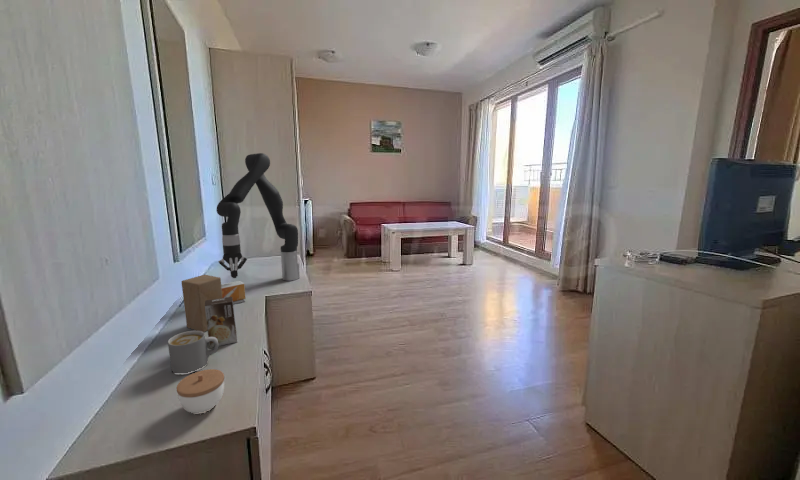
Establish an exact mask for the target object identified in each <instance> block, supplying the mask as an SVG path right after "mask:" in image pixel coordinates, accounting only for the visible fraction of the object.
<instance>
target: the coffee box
mask: <svg viewBox="0 0 800 480" xmlns="http://www.w3.org/2000/svg"><path fill="white" fill-rule="evenodd" d="M205 313H206V321H207V329H208V330H207V335H208V336H207V337H215V338H217V340H218V344H219V346H218V347H220V346H224V345H230V344H235V343H238V333H237V327H236V319H235V318H236V317H235V310H234V304H233V298H232V297H226V298H219V299H212V300H205ZM208 343H209V344H208V345H209V348H210V347H211V348H214V347H213V346H214V343H213V342H212V341H209V342H208Z"/></svg>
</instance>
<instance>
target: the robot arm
mask: <svg viewBox="0 0 800 480" xmlns="http://www.w3.org/2000/svg"><path fill="white" fill-rule="evenodd" d="M244 163H245V166H246V169H247V171H248V172H247V173H246V174H245V175H243V176H242V177H241V178H240V179H238V181H236V183H235V184H234V185H233V187H232V188H231V190H230V192H229V193H227V194H226V195H225V196H224V198H222V199H221V200H220V201H219V202H218V204H217V206H216V213H217V215H218V216H220V217H224V218H227V219H226V221H225V222H223V223H222V224H221V232H222V233H221V234H222V235H221V236H222V239H221V240H222V241H221V242H222V250H223V255H222V259H220V260H218V264H219V265H221V266H222V267H223V268H224V269H225V270H226V271H229V272H230V277H231V278H232V279H237V277H239V274H238V270H240V269H242V267H243V266H244V265H245V263H246V262H247V260H248V258H247V257H244V256H243V255H242V253H241V252H242V251H241V240H240V234H239V233H240V232H239V222H240V218H241V207H240V205H239V204H241V203H243V202H244V201H245V199H246V197H247V196H248V194H249V193H250V191H251V190H252V188H253V187H254V185H255V184H256V186H257V189H258V191H259V193H260V195H261V197H262V200H263V202H264V205H265V206H266V209H267V210H268V213H269V215H270V218H271V220H272V222H273V226H274V229H275V232H276V235H277V236H278V238H280V239H283V240H284V244H283V245H281V246H280V260H281V261H280V262H281V263H280V264H281V277H282V280H283V281H286V282H287V281H295V280H298V279H301V278H300V277H301V276H300V263H299V262H298V260H299V259H298V246H299V231H298V227H297V226H296V225H295V224H292V223H287V221H286V219H285V217H284V215H283V210H284V202H283V198H282V196H281V194H280V192H279V190H278V189H277V187H276V186H275V185H273V184H272V182H271V181H269V179H267V177H266V176H265V173H266V172H267V171H268V169H270V166H271V160H270V157H269V156H268V155H267V154H265V153H263V152H259V153H251V154H248V155H246V157H245V160H244ZM225 262H226V263H227V264H228V265H229V267H228V266H227V265H226V263H225Z"/></svg>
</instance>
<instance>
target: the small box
mask: <svg viewBox="0 0 800 480" xmlns="http://www.w3.org/2000/svg"><path fill="white" fill-rule="evenodd" d="M221 288H222V298H226V297H232V298H233V302H234V301H238V300H242V299H244V300H246V286H245V283H244V282H243V281H241V280H236V281H232V282H227V283H226V282H225V283H221Z"/></svg>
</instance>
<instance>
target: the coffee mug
mask: <svg viewBox="0 0 800 480" xmlns="http://www.w3.org/2000/svg"><path fill="white" fill-rule="evenodd" d="M209 341H212V342H213V343H214V347H212V348H211V349H209V348H208V343H209ZM167 345H168V353H169V355H168V356H169V360H170V368H171V372H172V371H173V372H174V373H188V372H191V371H195V370H197V369H199V368H202V367H203V366H205V365H206V364H207V361H208V360H209V357H210V356H212V355H213V354H215V353H216V352H218V350H219V347H220V346H219V344H218V340H217V338H215V337H208V336H206V333H205V332H202V331H196V330H189V331H183V332H180V333H178V334H174V335H173V336H171V337H170V338H169V339H168V340H167ZM208 362H209V361H208ZM207 365H208V364H207ZM207 365H206V366H207ZM206 366H205V367H206Z"/></svg>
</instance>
